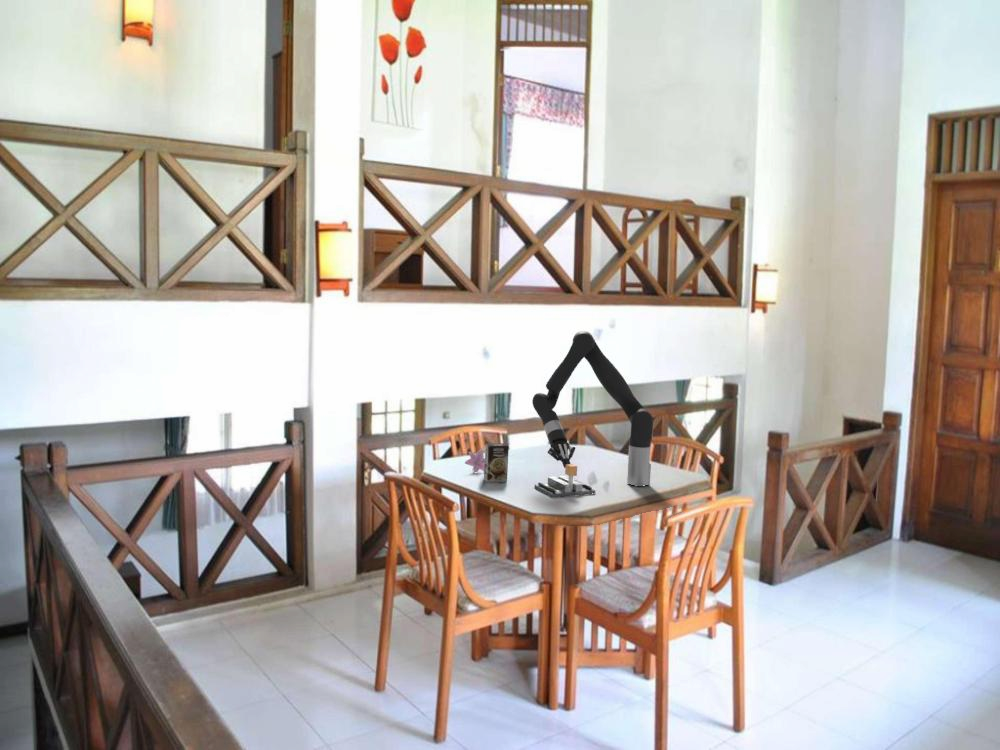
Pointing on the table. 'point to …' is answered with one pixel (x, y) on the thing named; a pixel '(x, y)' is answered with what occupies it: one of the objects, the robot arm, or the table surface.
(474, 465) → the lily
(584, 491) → the breaker panel
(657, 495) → the table surface
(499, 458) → the coffee box
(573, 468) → the lever
